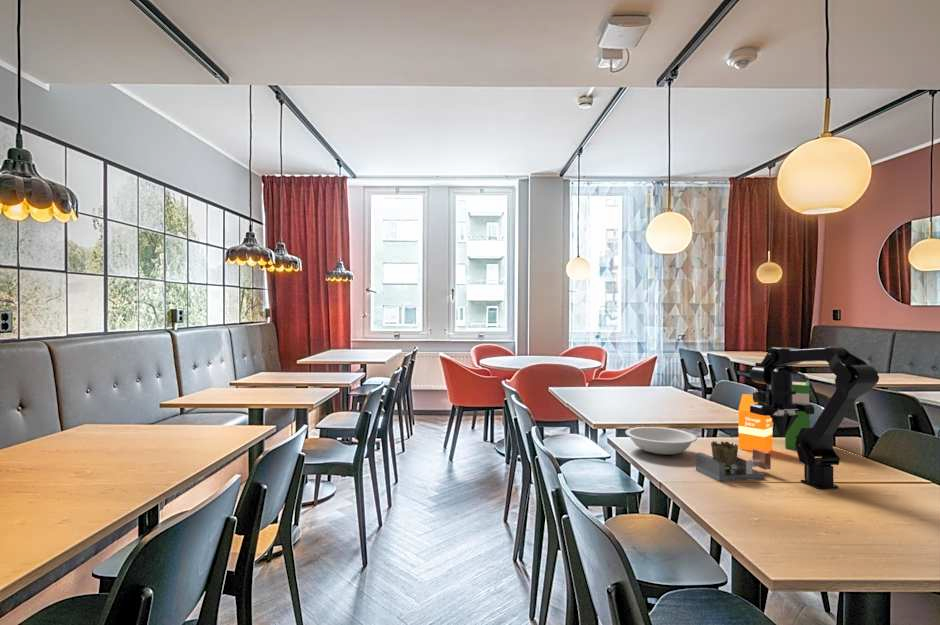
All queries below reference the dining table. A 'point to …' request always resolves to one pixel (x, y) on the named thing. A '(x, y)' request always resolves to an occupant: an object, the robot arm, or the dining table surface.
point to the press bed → (733, 475)
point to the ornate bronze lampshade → (725, 453)
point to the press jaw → (753, 461)
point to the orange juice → (753, 427)
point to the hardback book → (803, 418)
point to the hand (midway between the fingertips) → (782, 436)
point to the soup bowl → (661, 439)
